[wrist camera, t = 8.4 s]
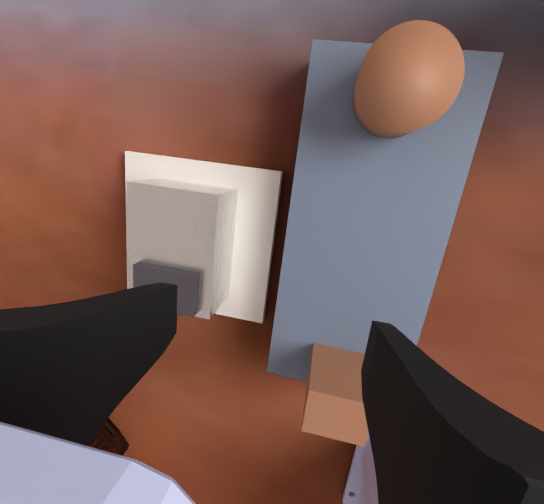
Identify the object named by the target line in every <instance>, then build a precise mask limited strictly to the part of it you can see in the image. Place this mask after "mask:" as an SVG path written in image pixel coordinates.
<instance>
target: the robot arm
mask: <svg viewBox="0 0 544 504" xmlns="http://www.w3.org/2000/svg"><path fill="white" fill-rule="evenodd" d="M176 328H177V285H175V284H169V283H164V282H161V283H153V284H147V285H143V286H138V287H134V288H130V289H126V290H122V291H118V292H114V293H110V294H105V295H100V296H96V297H91V298H87V299H82V300H77V301H71V302H65V303H59V304H52V305H45V306H36V307H25V308H14V309H2V310H0V504H196V503H195V502H194V501H193V500H192V499H191V498H190V497H189V495H188V494H187V493H186V492H185V491H184V490H183V489H182V488H181V487H180V485H179V484H178V483H177V482H176V481H175V480H174V479H173V478H172V477H170V476H168V475H166V474H164V473H162V472H160V471H158V470H156V469H154V468H152V467H150V466H148V465H146V464H144V463H142V462H140V461H138V460H136V459H132V458H128V457H125V456H121V455H118V454H114V453H110V452H107V451H103V450H100V449H96V448H92V447H89V446H88V445H89V444H90V442H91V441H92V439H93V438H94V436H95V435H96V434H97V432H98V431H99V430H100V428H101V427H102V425H103V424H104V423H105V421H106V420H107V418H108V417H109V416H110V414H111V413H112V412H113V410H114V409H115V408H116V407H117V406H118V404H119V403H120V402H121V401H122V399H123V398H124V397H125V396H126V395H127V394H128V393H129V392H130V390H131V389H132V388H133V387H134V386H135V385H136V384H137V383H138V381H139V380H140V379H141V378H142V377H143V376H144V375H145V374H146V373H147V371H148V370H149V369H150V368H151V367H152V366H153V365H154V363H155V362H156V361H157V360H158V359H159V358H160V356H161V355H162V354H163V353H164V351H165V350H166V348H167V347H168V345H169V344H170V342H171V341H172V339H173V337H174V336H175V334H176ZM361 383H362V399H363V405H364V410H365V416H366V422H367V427H368V436H367V440H366V443H365V447H363V446H359V445H356V448H355V452H354V456H353V460H352V463H351V467H350V471H349V475H348V479H347V483H346V487H345V490H344V494H343V504H544V432H543V431H541V430H539V429H537V428H535V427H534V426H532V425H530V424H528V423H526V422H524V421H523V420H521V419H519V418H517V417H516V416H514V415H512V414H511V413H509V412H507V411H505V410H504V409H502V408H500V407H498V406H497V405H495V404H494V403H492V402H490V401H489V400H487V399H486V398H484V397H483V396H481V395H480V394H478V393H477V392H475V391H474V390H472V389H471V388H469V387H468V386H466V385H465V384H463V383H462V382H461V381H459V380H458V379H456V378H455V377H454V376H452V375H451V374H450V373H449V372H447V371H446V370H445V369H443V368H442V367H441V366H440V365H438V364H437V363H436V362H435V361H433V360H432V359H431V358H430V357H429V356H428V355H426V354H425V353H424V352H423V351H422V350H421V349H419V348H418V347H417V346H416V345H415V344H414V343H413V342H412V341H411V340H409V339H408V338H407V337H406V336H405V335H404V334H403V333H402V332H401V331H399V330H398V329H397V328H396V327H395V326H393V325H392V324H390V323H384V322H379V321H373V320H372V324H371V328H370V333H369V337H368V342H367V346H366V351H365V355H364V360H363V364H362V369H361Z"/></svg>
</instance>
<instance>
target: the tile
mask: <svg viewBox="0 0 544 504" xmlns="http://www.w3.org/2000/svg"><path fill="white" fill-rule="evenodd" d="M282 178H283V171H277V170H270V169H262V168H255V167H247V166H240V165H232V164H224V163H217V162H209V161H202V160H194V159H187V158H179V157H172V156H164V155H156V154H149V153H141V152H134V151H125V187H126V246H127V289H128V227H127V181H138V180H151V179H167V180H174V181H181V182H188V183H195V184H202V185H209V186H216V187H223V188H230V189H237V190H238V198H237V210H236V221H235V233H234V244H233V255H232V267H231V278H230V290H229V296H228V297H227V298H226V299H225V301H224V302H223V303H222V304H221V306H220V307H219V308H218V309H217V311H216V312H215V313H214V314H218V315H223V316H228V317H233V318H238V319H243V320H248V321H253V322H257V323H263V320H264V318H265V311H266V303H267V295H268V288H269V280H270V272H271V264H272V256H273V248H274V241H275V233H276V225H277V217H278V209H279V202H280V194H281V186H282Z"/></svg>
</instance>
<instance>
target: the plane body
mask: <svg viewBox="0 0 544 504" xmlns="http://www.w3.org/2000/svg"><path fill="white" fill-rule="evenodd" d="M503 55H504V53H503V52H488V51H474V50H462V49H461V46H460V44H459V42H458V40H457V39H456V38H455V36H454V35H453V34H452V33H451V32H450V31H449V30H448V29H446V28H445V27H443V26H442V25H440V24H438V23H435V22H431V21H426V20H413V21H407V22H404V23H401V24H399V25H396V26H394V27H392V28H391V29H389V30H387V31H386V32H385V33H383V34H382V35H381V36H380V37H379V38H378V39H377V40H376V41H375V42H374V43H359V42H345V41H331V40H316V39H313V41H312V48H311V55H310V63H309V70H308V77H307V84H306V92H305V99H304V106H303V113H302V121H301V128H300V135H299V142H298V150H297V157H296V164H295V171H294V179H293V186H292V193H291V200H290V208H289V215H288V222H287V229H286V237H285V244H284V251H283V258H282V265H281V273H280V280H279V287H278V294H277V302H276V309H275V316H274V323H273V331H272V338H271V345H270V352H269V360H268V367H267V372H268V373H272V374H277V375H281V376H285V377H290V378H294V379H299V380H303V381H307V386H306V394H305V403H304V412H303V421H302V430H301V431H303V432H307V433H311V434H315V435H319V436H323V437H327V438H331V439H335V440H339V441H343V442H347V443H351V444H355V445H359V446H363V447H365V443H366V440H367V436H368V427H367V422H366V416H365V410H364V405H363V399H362V383H361V369H362V364H363V360H364V355H365V351H366V346H367V342H368V337H369V333H370V328H371V324H372V320H373V321H379V322H384V323H390V324H392V325H393V326H395V327H396V328H397V329H398V330H399V331H401V332H402V333H403V334H404V335H405V336H406V337H407V338H408V339H409V340H411V341H412V342H413V343H414V344H415V345H416V346H417V344H418V340H419V337H420V333H421V330H422V327H423V323H424V320H425V317H426V313H427V310H428V307H429V303H430V300H431V297H432V293H433V290H434V286H435V283H436V280H437V276H438V273H439V270H440V266H441V263H442V260H443V256H444V253H445V249H446V246H447V243H448V239H449V236H450V233H451V229H452V226H453V223H454V219H455V216H456V213H457V209H458V206H459V202H460V199H461V196H462V192H463V189H464V186H465V182H466V179H467V176H468V172H469V169H470V165H471V162H472V159H473V155H474V152H475V149H476V145H477V142H478V139H479V135H480V132H481V129H482V125H483V122H484V118H485V115H486V112H487V108H488V105H489V102H490V98H491V95H492V92H493V88H494V85H495V81H496V78H497V75H498V71H499V68H500V65H501V61H502V58H503Z"/></svg>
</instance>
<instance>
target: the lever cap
mask: <svg viewBox="0 0 544 504" xmlns="http://www.w3.org/2000/svg"><path fill="white" fill-rule="evenodd" d="M237 198H238V190H237V189H230V188H223V187H216V186H209V185H202V184H195V183H188V182H181V181H174V180H167V179H151V180H138V181H127V227H128V289H130V288H134V287H138V286H143V285H147V284H153V283H161V282H164V283H169V284H175V285H177V314H180V315H185V316H190V317H194V316H195V317H200V318H204V319H209V320H210V318H211V317H212V316H213V315H214V313H215V312H216V311H217V309H218V308H219V307H220V306H221V304H222V303H223V302H224V301H225V299H226V298H227V297H228V296H229V290H230V278H231V267H232V255H233V244H234V233H235V221H236V210H237Z"/></svg>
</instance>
